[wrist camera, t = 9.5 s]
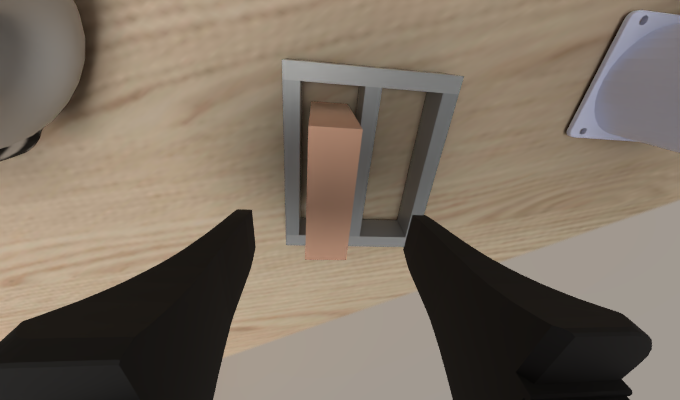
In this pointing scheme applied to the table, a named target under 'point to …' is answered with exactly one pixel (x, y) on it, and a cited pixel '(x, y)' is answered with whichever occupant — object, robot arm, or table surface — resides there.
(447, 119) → the dish rack
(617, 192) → the table surface
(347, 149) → the brick block
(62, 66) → the donut
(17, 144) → the spotted tube
